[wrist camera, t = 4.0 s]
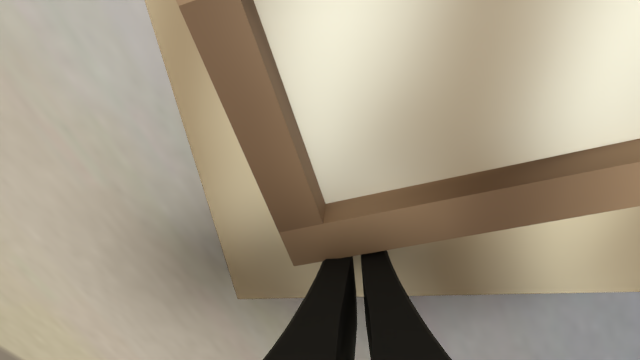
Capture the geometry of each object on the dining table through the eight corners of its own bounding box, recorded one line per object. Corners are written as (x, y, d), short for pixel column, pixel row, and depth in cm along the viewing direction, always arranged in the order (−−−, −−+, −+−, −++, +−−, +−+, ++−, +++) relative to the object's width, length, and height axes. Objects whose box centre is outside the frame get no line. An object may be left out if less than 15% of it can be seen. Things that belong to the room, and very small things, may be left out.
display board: (1144, -522, 5) (1299, -614, 4) (718, 266, 12) (745, 289, 12) (84, -278, 7) (48, -310, 6) (244, 278, 15) (237, 299, 14)
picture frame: (910, -353, 6) (1094, -454, 4) (769, 138, 9) (840, 170, 8) (182, -63, 8) (147, -66, 7) (301, 230, 12) (294, 266, 10)
